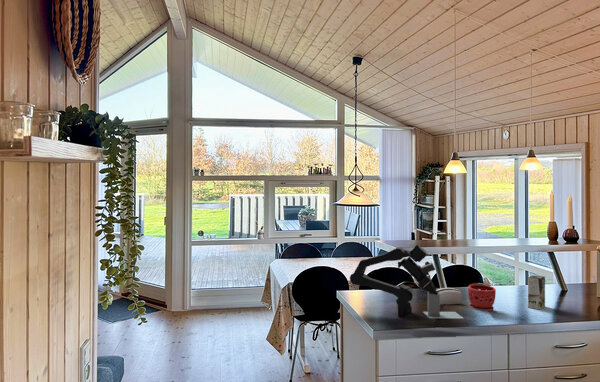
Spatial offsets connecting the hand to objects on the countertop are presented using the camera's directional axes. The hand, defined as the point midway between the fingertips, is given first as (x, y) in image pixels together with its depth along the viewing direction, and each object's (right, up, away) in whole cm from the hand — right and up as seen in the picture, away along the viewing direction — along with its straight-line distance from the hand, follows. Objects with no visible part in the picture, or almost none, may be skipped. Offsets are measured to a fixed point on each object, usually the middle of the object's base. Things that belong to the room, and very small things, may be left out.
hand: (436, 292), depth 202 cm
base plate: (+3, -12, 0) cm, 13 cm away
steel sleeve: (-1, -11, 0) cm, 11 cm away
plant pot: (+28, -13, +14) cm, 34 cm away
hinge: (+14, -13, +27) cm, 33 cm away
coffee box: (+60, -13, +21) cm, 65 cm away
